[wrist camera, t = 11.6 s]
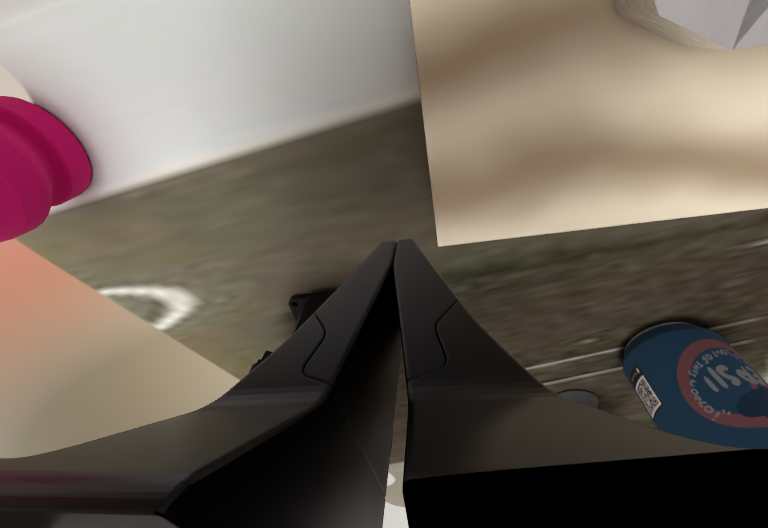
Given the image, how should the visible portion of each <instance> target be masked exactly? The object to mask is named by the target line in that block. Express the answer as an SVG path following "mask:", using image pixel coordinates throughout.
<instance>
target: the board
mask: <svg viewBox="0 0 768 528" xmlns="http://www.w3.org/2000/svg"><path fill="white" fill-rule="evenodd" d="M410 8H411V17H412V26H413V34H414V43H415V51H416V60H417V69H418V77H419V86H420V94H421V103H422V112H423V120H424V129H425V137H426V146H427V155H428V163H429V172H430V180H431V189H432V198H433V206H434V215H435V223H436V232H437V241H438V247H439V246H448V245H456V244H465V243H473V242H482V241H490V240H498V239H507V238H515V237H524V236H532V235H541V234H549V233H558V232H566V231H575V230H583V229H592V228H600V227H609V226H617V225H626V224H634V223H643V222H651V221H660V220H668V219H677V218H685V217H694V216H702V215H711V214H719V213H728V212H736V211H744V210H753V209H761V208H768V44H766V45H761V46H756V47H750V48H745V49H740V50H735V51H727V50H717V49H707V48H697V47H687V46H679V45H677V44H675V43H673V42H671V41H669V40H666V39H664V38H662V37H660V36H658V35H656V34H654V33H652V32H650V31H648V30H646V29H644V28H641V27H639V26H637V25H635V24H633V23H631V22H629V21H627V20H625V19H623V18H621V17H619V16H617V13H616V11H615V8H614V6H613V3H612V0H410Z"/></svg>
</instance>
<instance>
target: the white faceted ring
mask: <svg viewBox="0 0 768 528" xmlns="http://www.w3.org/2000/svg"><path fill="white" fill-rule="evenodd" d="M612 3H613V6H614V8H615V11H616V13H617V16H619V17H621V18H623V19H625V20H627V21H629V22H631V23H633V24H635V25H637V26H639V27H641V28H644V29H646V30H648V31H650V32H652V33H654V34H656V35H658V36H660V37H662V38H664V39H666V40H669V41H671V42H673V43H675V44H677V45H679V46H687V47H697V48H707V49H717V50H727V51H735V50H740V49H745V48H750V47H756V46H761V45H766V44H768V0H612Z"/></svg>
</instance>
